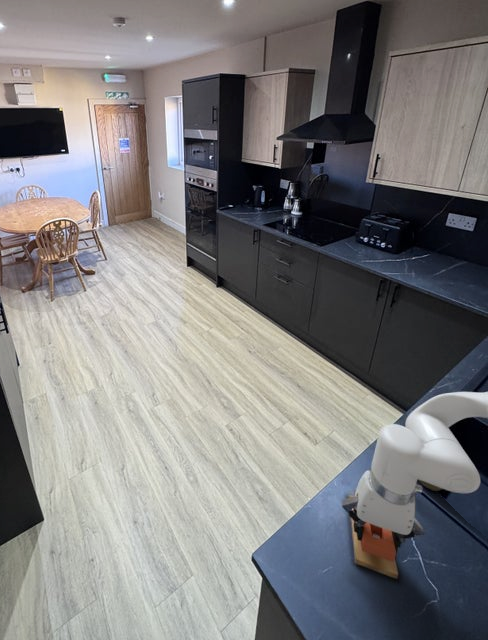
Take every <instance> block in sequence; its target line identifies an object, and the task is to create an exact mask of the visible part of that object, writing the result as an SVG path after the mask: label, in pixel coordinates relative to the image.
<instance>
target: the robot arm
mask: <svg viewBox="0 0 488 640" xmlns="http://www.w3.org/2000/svg"><path fill="white" fill-rule="evenodd" d="M467 418H468V419H469V418H483V419H488V391H485V392H478V391H477V392H475V391H455V392H447V393H441V394H438V395H435V396H433V397H431V398H429V399H428V400H426V401H424V402H423V403H422V404H420V405H418V406H417V407H416V408H415V409H413V410H412V411H411V412H410V413H409V414H408V416H407V417H406V419H405V424H404V425H405V426H404V425H402V424H401V425H400V424H397V423H389V424H385V425H383V426H382V427H381V429H379V432H378V435H377V440H376V443H375V444H376V445H375V449H374V453H373V456H372V461H371V465H370V470H366V471H364V473H363V474H362V475H361V478H360V479H359V481H358V483H357V486H356V489H355V490H356V492H355V491H354V492H355V496H354V495H353V496H354V497H351V498H348V497H347V498H344V499H341V507H342V508H343V510H344V511H345V512H346V513H347V514H348V516H349V518H350V517H351V518H352V519H353V520H354V532H356V533H357V539H358V540H359V541H361V540H362V536H363V532H364V526H363V525H364V524H366V523H370V524H373V525H375V526H378V527H381V528H384V529H387V530H390V531H392V536H393V541H394V545H395V550H396V554H397V553H398V549H400V548H401V546H402V543H406V539H412V538H415V536H416V537H417V536H422V535H425V528H424V526H423V525H422V523H420V521H419V520H418V519H417V518H416V517H415V515H416V497H415V496H416V495H415V494H416V493H420V494H422V493H423V487H422V486H423V485H422V484H419V483H417V482H418V481H419V480H421V481H424V482H427V483H429V484H432V485H435V486H437V487H440V488H442V489H441V490H445V491H449V492H451V493H456V494H471V493H474V492H475V491H477V490H478V489H479V488H480V486H481V476H480V473H479V471H478V469H477V468H476V466H475V464H474V463H473V461H472V460H471V458H470V457H469V455H468V454H467V453H466V451H465V450H464V449H463V447H462V445H461V444H460V442H459V440H458V439H457V437H455V435H454V434H453V432H452V431H451V429H450V427H452V426H453V425H455V424H456V423H458V422H459V421H461V420H465V419H467ZM418 479H419V480H418ZM354 507H357V509H355V508H354Z"/></svg>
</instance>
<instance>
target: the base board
mask: <svg viewBox="0 0 488 640" xmlns="http://www.w3.org/2000/svg"><path fill="white" fill-rule="evenodd" d="M351 497H354V494H350V493H349V494H348V497H347V498H351ZM349 519H350V528H351V529H350V530H351V536H352V538H351V539H352V546H353V556H354V564H356V565H359V566H361V567H363V568H367V569H370V570H372V571H375V572H377V573H380V574H382V575H385V576H388V577H390V578H393V579H398V577H399V570H398V566H397V561H396V557H395V558H394V562H392V561H389V560H386V559H384V558H381V557H378V556H375V555H373V554H370V553H367V552H364V551H362V548H361V541H359V540H358V539H357V533H356V532H354V520H353V519H352V518H351V517H350V516H349ZM372 536H374V537H377V538H380V536H379V535H378V534H376V533H373V534H372Z"/></svg>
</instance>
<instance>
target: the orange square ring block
mask: <svg viewBox="0 0 488 640" xmlns="http://www.w3.org/2000/svg"><path fill="white" fill-rule="evenodd" d="M363 526H364V532H363V536H362V540H361V548H362V551H364V552H367V553H370V554H373V555H375V556H378V557H381V558H384V559H386V560H389V561H392V562H394V558H395V559H396V555H397V553H396V550H395V545H394V541H393V536H392V531H390V530H387V529H384V528H381V527H378V526H375V525H373V524H370V523H366V524H364V525H363ZM373 533H376V534H378V535H379V536H380V538H377V537H374V536H372V534H373Z"/></svg>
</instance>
